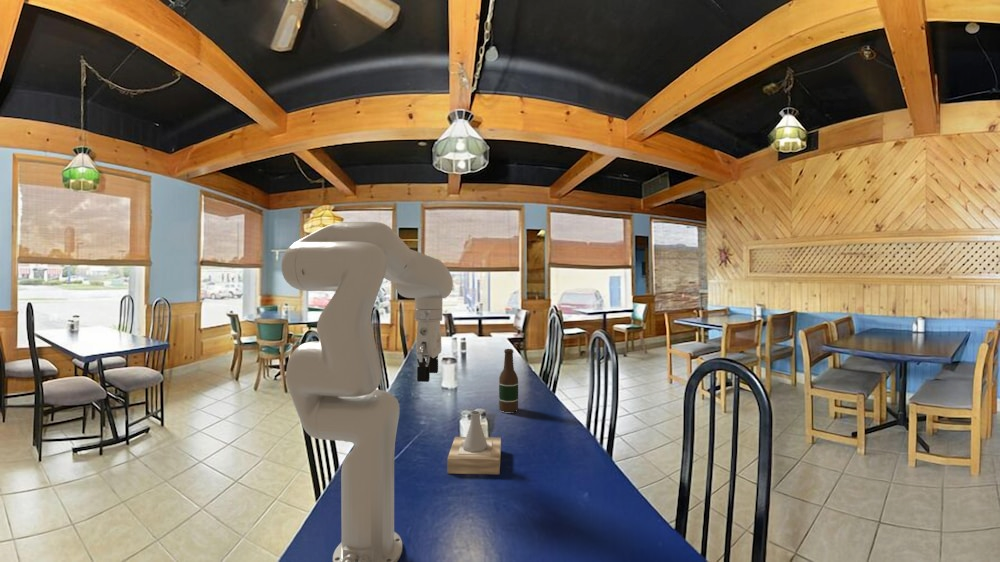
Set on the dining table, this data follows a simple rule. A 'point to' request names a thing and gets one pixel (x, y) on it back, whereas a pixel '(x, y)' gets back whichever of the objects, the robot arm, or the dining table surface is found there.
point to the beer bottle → (508, 385)
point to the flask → (475, 434)
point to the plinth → (474, 458)
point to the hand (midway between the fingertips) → (428, 376)
